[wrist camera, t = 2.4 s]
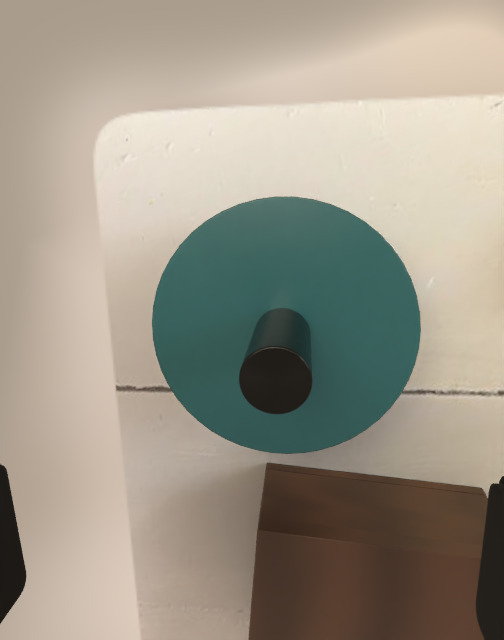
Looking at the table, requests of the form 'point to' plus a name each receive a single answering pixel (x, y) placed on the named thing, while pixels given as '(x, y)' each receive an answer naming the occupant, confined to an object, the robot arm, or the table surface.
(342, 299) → the lid
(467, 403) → the table surface
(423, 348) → the table surface
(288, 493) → the wooden box
